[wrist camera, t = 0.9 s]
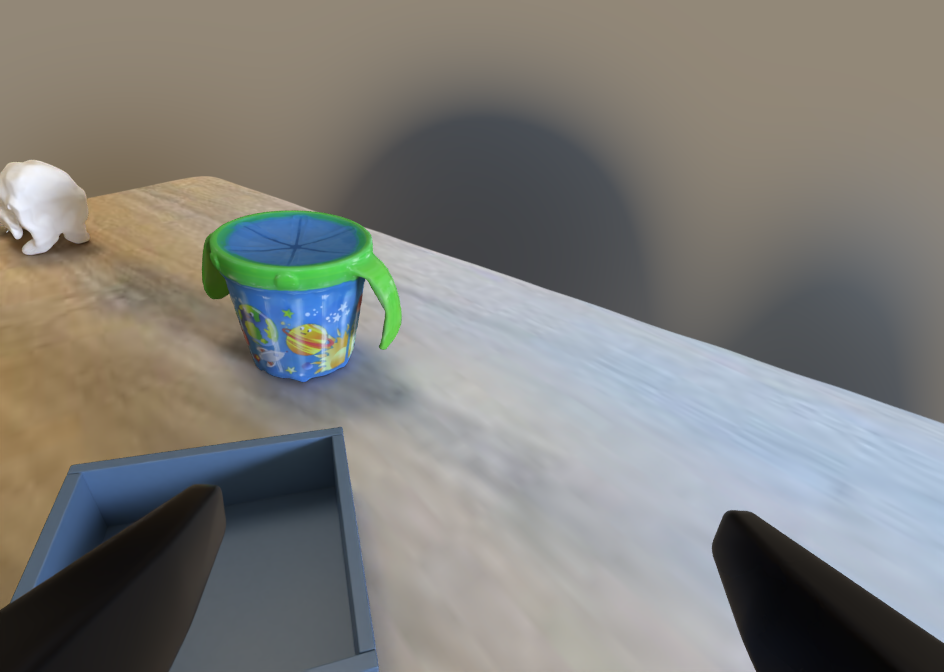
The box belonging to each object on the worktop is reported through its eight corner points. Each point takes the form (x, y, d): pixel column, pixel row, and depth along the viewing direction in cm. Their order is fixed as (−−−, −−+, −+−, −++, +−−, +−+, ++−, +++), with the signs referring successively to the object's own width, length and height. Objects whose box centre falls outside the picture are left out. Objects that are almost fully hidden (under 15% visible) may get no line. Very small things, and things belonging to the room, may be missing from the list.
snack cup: (424, 355, 41) (431, 240, 35) (344, 432, 32) (337, 296, 27) (278, 301, 46) (265, 193, 40) (176, 356, 37) (142, 228, 32)
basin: (378, 722, 19) (378, 666, 17) (-8, 851, 16) (-80, 803, 13) (345, 484, 29) (342, 426, 27) (100, 527, 25) (70, 464, 23)
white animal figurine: (-3, 170, 42) (-58, 155, 47) (38, 263, 46) (-16, 240, 52) (79, 159, 47) (21, 147, 52) (109, 245, 51) (53, 225, 56)
